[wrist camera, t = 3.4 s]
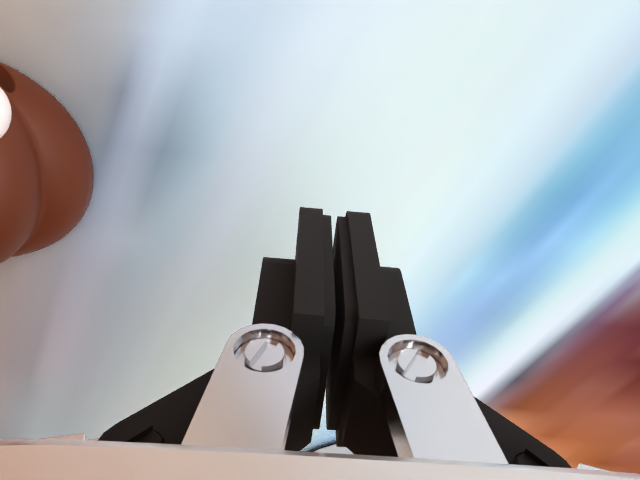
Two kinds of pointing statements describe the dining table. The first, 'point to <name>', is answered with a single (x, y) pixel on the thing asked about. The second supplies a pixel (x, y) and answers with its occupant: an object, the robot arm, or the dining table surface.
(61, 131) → the poop emoji
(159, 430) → the robot arm
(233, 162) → the dining table surface
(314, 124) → the dining table surface
